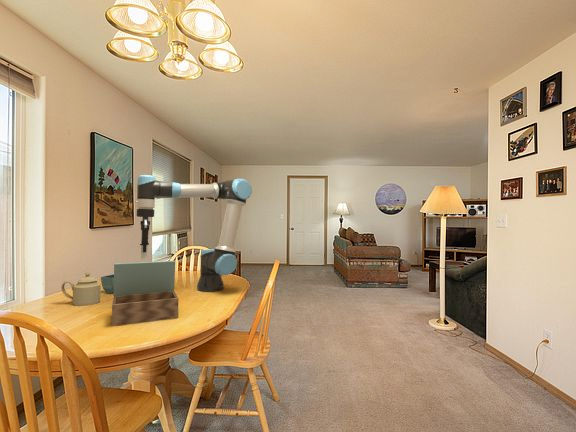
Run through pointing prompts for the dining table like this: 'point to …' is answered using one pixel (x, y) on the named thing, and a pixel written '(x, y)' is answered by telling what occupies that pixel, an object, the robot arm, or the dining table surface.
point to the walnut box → (144, 307)
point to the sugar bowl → (84, 291)
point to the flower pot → (108, 283)
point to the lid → (143, 277)
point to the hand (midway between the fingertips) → (144, 259)
